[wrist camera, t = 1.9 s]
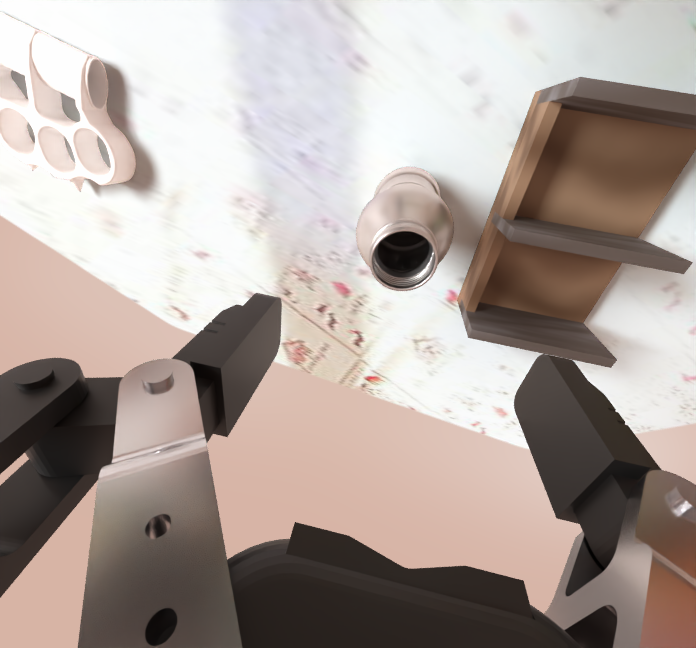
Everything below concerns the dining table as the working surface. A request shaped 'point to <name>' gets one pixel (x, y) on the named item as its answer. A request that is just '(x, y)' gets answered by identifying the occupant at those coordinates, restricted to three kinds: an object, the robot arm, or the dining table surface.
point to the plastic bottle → (405, 229)
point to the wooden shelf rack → (575, 213)
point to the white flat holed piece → (58, 108)
